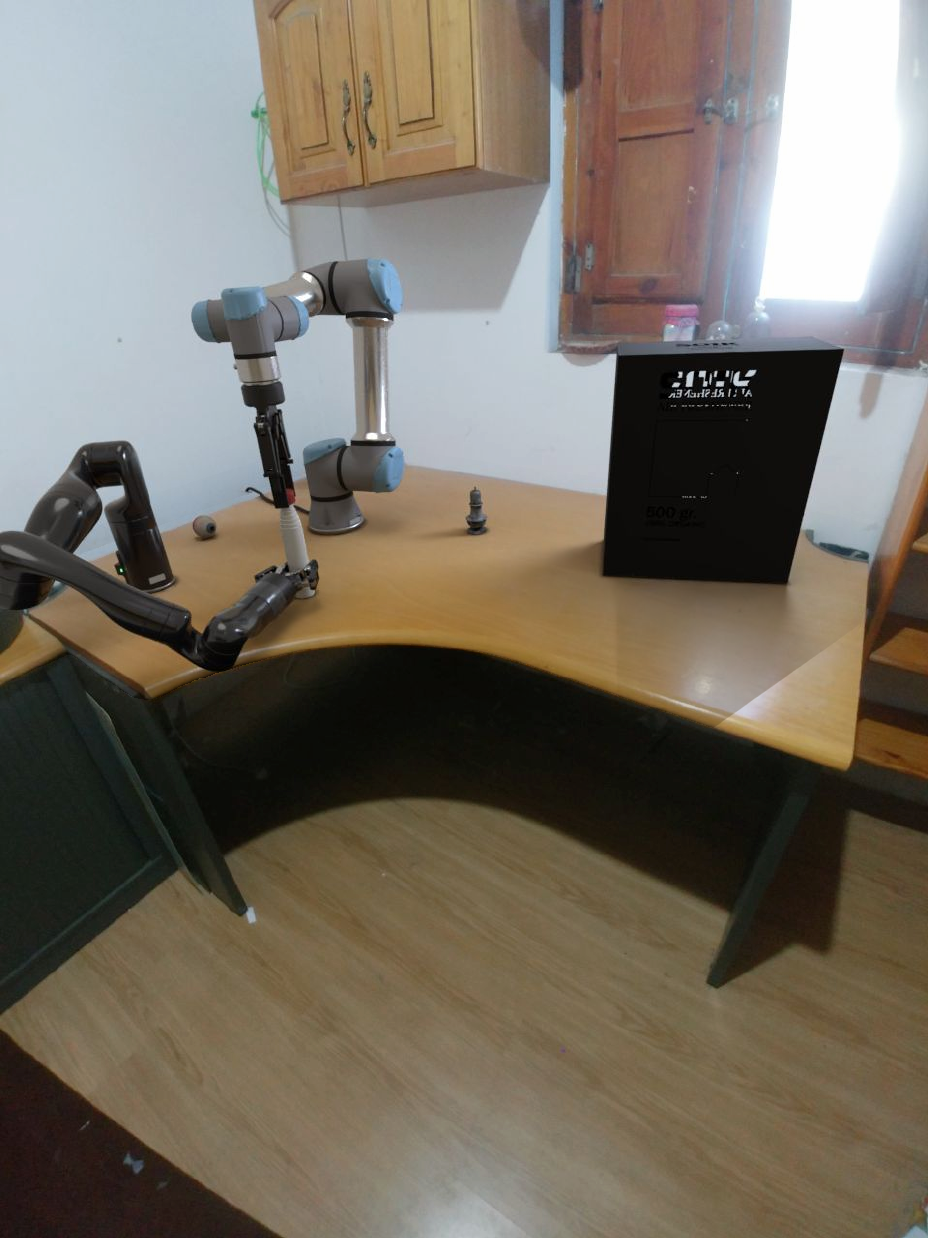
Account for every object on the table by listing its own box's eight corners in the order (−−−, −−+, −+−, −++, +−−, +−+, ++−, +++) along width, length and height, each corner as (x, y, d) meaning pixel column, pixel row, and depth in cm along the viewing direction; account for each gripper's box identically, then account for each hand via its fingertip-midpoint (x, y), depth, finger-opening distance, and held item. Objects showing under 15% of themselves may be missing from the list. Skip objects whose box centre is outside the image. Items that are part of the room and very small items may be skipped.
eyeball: (206, 542, 163) (200, 521, 160) (191, 538, 166) (185, 518, 163) (224, 534, 167) (218, 514, 164) (209, 531, 170) (203, 510, 167)
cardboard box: (766, 545, 143) (811, 336, 120) (787, 583, 126) (844, 348, 103) (603, 539, 150) (617, 342, 128) (602, 575, 133) (618, 355, 111)
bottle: (306, 599, 131) (285, 500, 120) (290, 596, 133) (268, 497, 121) (318, 591, 134) (300, 493, 123) (303, 588, 136) (283, 491, 125)
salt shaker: (485, 534, 157) (484, 490, 151) (463, 534, 158) (461, 489, 152) (489, 526, 162) (488, 482, 156) (468, 525, 163) (466, 482, 157)
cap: (297, 503, 122) (295, 492, 121) (278, 507, 121) (275, 496, 120) (293, 498, 125) (291, 487, 124) (274, 502, 124) (272, 490, 123)
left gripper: (239, 613, 122) (279, 576, 136) (304, 618, 119) (338, 579, 133) (230, 580, 118) (272, 545, 132) (297, 583, 115) (332, 548, 129)
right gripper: (253, 375, 120) (277, 488, 131) (226, 392, 103) (256, 519, 115) (290, 373, 120) (311, 486, 131) (270, 389, 103) (295, 517, 115)
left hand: (305, 562), depth 133 cm, fingers closed on bottle, 4 cm apart
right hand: (285, 501), depth 123 cm, fingers open, 6 cm apart
